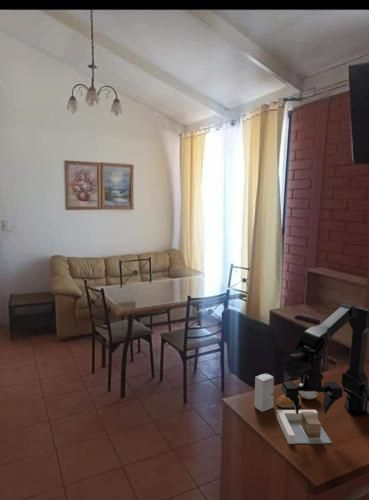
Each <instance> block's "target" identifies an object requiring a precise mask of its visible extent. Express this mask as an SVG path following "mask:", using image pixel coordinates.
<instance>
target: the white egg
mask: <svg viewBox="0 0 369 500" xmlns="http://www.w3.org/2000/svg"><path fill="white" fill-rule="evenodd" d="M298 386H303V384H301V383H299V385H298ZM318 393H319V392H299V394H300V395H301V396H302V398H304V399H307V400H313V399H315V398H316V397H317V396H318Z"/></svg>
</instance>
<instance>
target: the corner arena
mask: <svg viewBox="0 0 369 500" xmlns="http://www.w3.org/2000/svg"><path fill="white" fill-rule="evenodd" d="M301 412H314V414H315V415H316V417H317V419H318V415H319V412H318V411H317V410H316V409H299V412H298V414H296V411H295V409H276V420H277V421H278V424H279V426H280V428H281V431H282V433H283V435H284V437H285V440H286V442H287V444H288V445H292V444H293V445H296V444H297V445H308V444H311V445H312V444H313V445H314V444H325V445H326V444H333V443H332V440H331V439H330V437H329V436H328V434H327V433H326V431H325V430H324V428H323V427H322V425H321V434H320V438H308V437H307V435H306V434H305V432H304V430H303V428H302V426H301Z"/></svg>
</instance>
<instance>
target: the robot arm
mask: <svg viewBox="0 0 369 500" xmlns="http://www.w3.org/2000/svg"><path fill="white" fill-rule="evenodd" d="M346 323H348V325H349V326H350V329H351V330H352V331H351V343H350V354H349V366H348V369H346V371H345V372H343V373H342V375H341V378H342V379H341V382H340V383H341V386H340V384H339V383H338V382H336V381H325V382H324V385H322V380H323V379H324V375H323V362H324V361H323V359H324V358H323V357H324V356H327V355H328V352H327V351H326V349H327V348H328V346H329V345H330V344H331V338H332V336H334V335H335V334H336V333H337V332H339V330H340V329H342V328H343V326H345V325H346ZM368 333H369V308H367V307H364V306H359V305H352V304H348V303H341V304H339V307H338V308H337V310H335V311H334V312H333V313H332V314H331V315H329V317H326V319H325V320H324V321H323V322H322V323H321V324H318V325H316V326H311V327H309V328H308V329H306V330H305V331H304V332H303V333H302V335H301V337H300V338H299V340H298V342H297V344H296V346H295V348H294V351H295V352H297V353H291V354H290V355H289V358H287V359H285V362H284V365H283V366H284V370H285V372H286V374H287V375H288V376H289V377H291V378H295V379H297V380H299V382H300V383H301V384H303V386H299V385H296V384H295V382H294V381H283V382H282V383H281V391H282V392H283V394H285V396H286V397H287V398H289V399H290V400H292V401H293V405H294V407H293V408H294V410H295V411H296V414H298V412H299V410H300V405H299V398H300V397H299V398H298V395H299V394H300V392H318V393H323V404H322V412H323V414H324V415H325V414H327V412H328V411H329V410H330V408H331V407H332V405H333V404H334V403H335V402H336V401H337V400H340V398H344V393H346V397H345V401H344V402H345V404H344V407H345V408H346V410H347V411H348V413H349V414H350V415H351V416H369V412H368V404H369V403H368V402H369V379H368V378H369V377H368V376H367V374H366V372H365V365H366V354H367V343H368ZM300 383H299V384H300ZM299 396H300V395H299Z"/></svg>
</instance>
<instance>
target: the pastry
mask: <svg viewBox="0 0 369 500" xmlns="http://www.w3.org/2000/svg"><path fill="white" fill-rule="evenodd" d="M298 398H299V406H301V404H302V401H301V398H300V395H298ZM275 405H277V406H278V407H280V408H282V409H283V408H285V409H286V408H288V409H291V408H294V405H293V401H292V400H290V399H289V398H287V397H286V396H285V394H284V393H283V394H282V395H280V396H278V397H277V398H276V400H275Z"/></svg>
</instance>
